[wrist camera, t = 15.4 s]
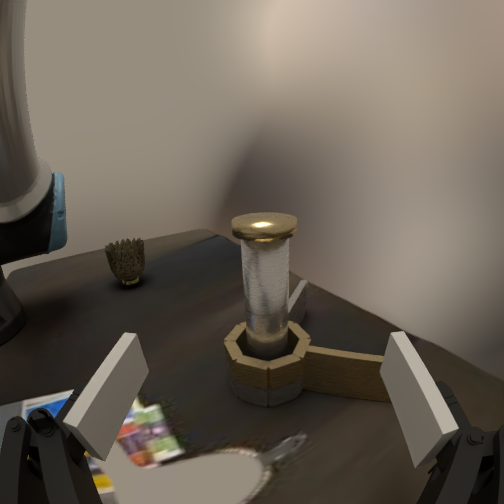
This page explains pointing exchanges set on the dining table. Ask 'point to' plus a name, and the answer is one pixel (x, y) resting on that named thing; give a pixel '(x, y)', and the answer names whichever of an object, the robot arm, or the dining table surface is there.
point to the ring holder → (301, 366)
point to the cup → (126, 261)
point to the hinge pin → (265, 280)
